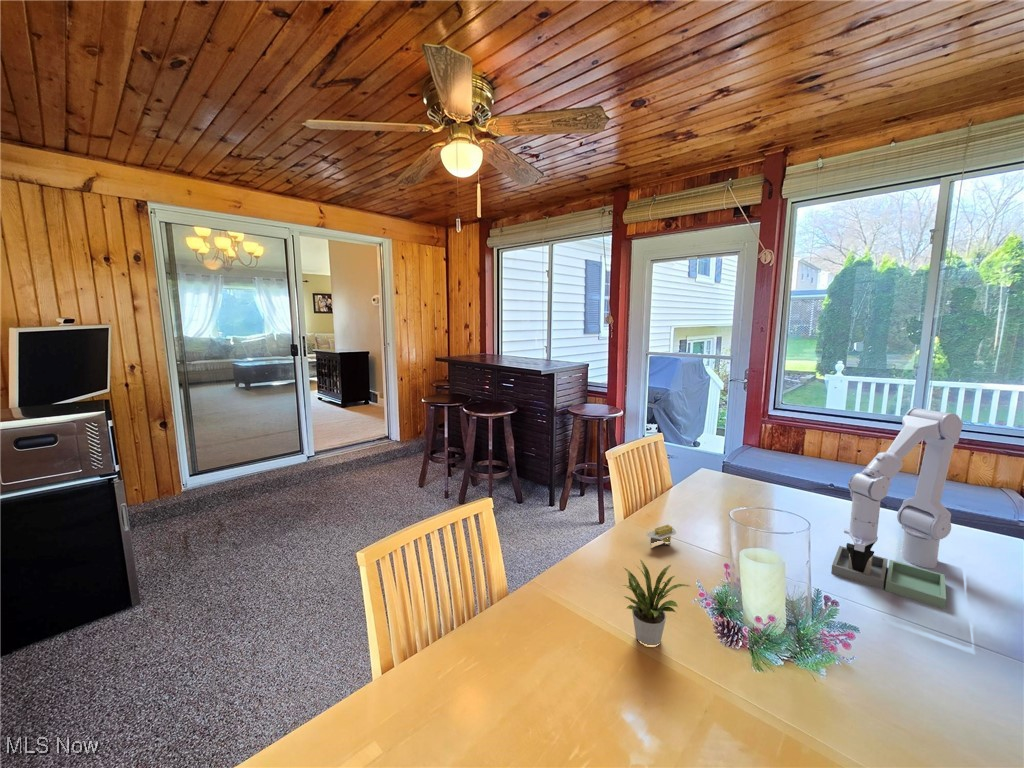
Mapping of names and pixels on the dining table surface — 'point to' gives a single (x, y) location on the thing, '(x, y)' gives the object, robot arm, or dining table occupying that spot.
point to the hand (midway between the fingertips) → (859, 565)
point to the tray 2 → (916, 583)
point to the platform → (662, 534)
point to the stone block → (867, 569)
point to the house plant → (650, 606)
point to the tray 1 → (873, 579)
